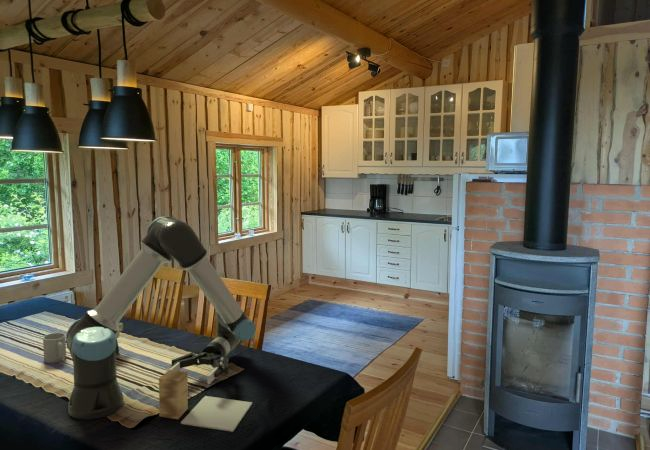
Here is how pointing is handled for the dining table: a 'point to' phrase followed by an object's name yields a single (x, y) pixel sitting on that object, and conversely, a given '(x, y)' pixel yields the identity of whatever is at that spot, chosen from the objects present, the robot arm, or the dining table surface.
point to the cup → (54, 347)
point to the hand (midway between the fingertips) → (188, 377)
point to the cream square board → (217, 413)
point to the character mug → (118, 335)
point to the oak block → (173, 394)
